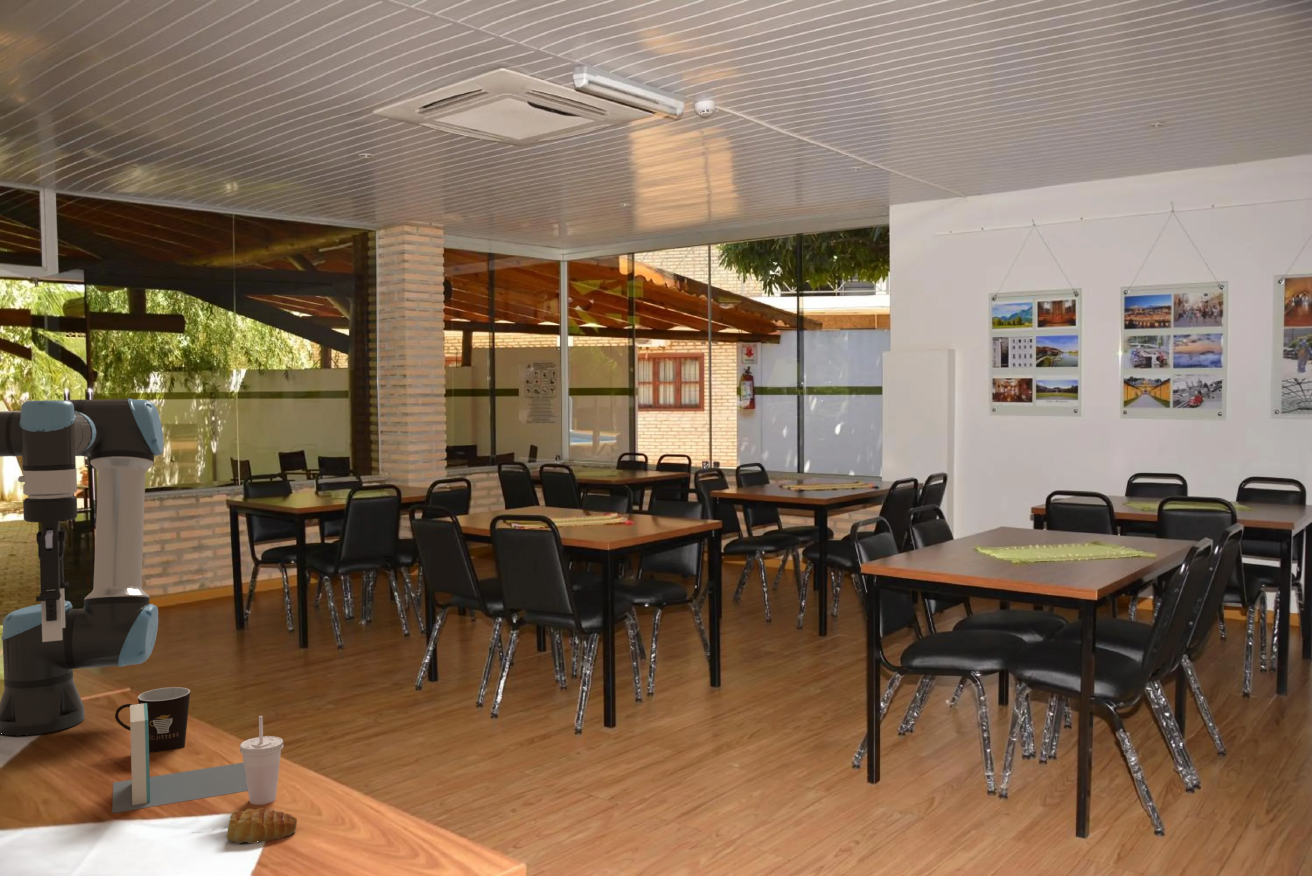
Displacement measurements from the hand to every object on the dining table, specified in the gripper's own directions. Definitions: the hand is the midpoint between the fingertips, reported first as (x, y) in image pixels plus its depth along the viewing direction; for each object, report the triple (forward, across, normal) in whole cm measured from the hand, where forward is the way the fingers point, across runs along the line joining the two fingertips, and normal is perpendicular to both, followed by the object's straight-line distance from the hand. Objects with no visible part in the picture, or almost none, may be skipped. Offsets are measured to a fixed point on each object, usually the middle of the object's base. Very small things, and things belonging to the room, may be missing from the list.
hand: (54, 634), depth 168 cm
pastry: (+26, +34, +27) cm, 50 cm away
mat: (+25, +10, +18) cm, 33 cm away
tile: (+25, +10, +12) cm, 29 cm away
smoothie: (+26, +22, +29) cm, 44 cm away
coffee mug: (+26, -14, +15) cm, 33 cm away
